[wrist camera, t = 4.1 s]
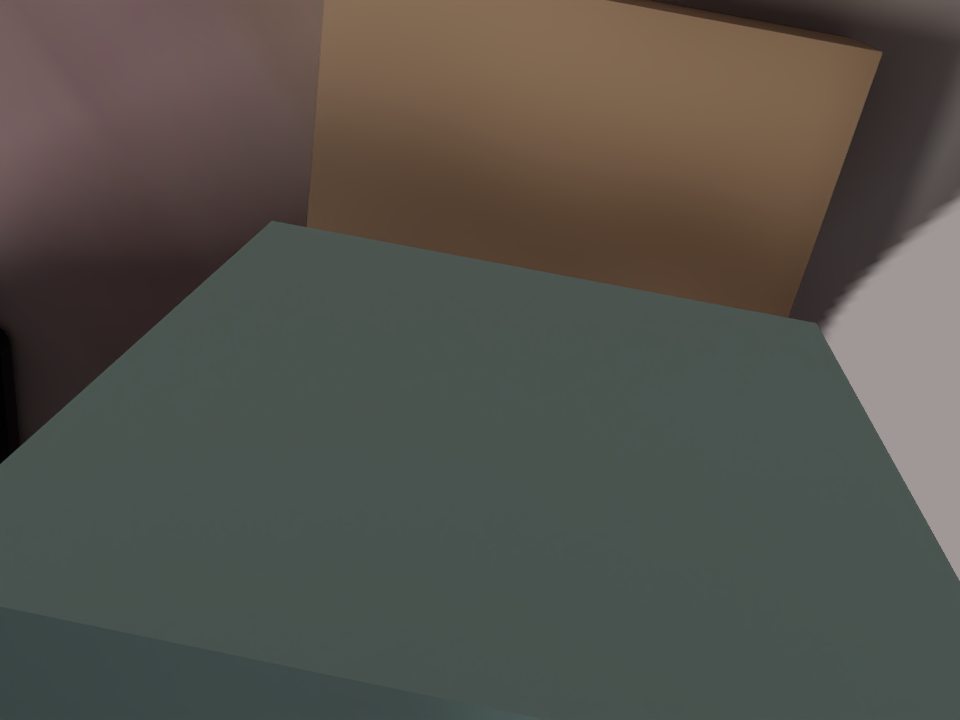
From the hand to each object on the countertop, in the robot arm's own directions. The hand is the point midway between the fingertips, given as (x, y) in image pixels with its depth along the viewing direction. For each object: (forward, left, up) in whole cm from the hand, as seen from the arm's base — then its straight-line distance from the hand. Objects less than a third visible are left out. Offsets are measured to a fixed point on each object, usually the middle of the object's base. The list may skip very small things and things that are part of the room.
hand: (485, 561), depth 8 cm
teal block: (0, 0, -1) cm, 1 cm away
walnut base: (0, 0, -11) cm, 11 cm away
